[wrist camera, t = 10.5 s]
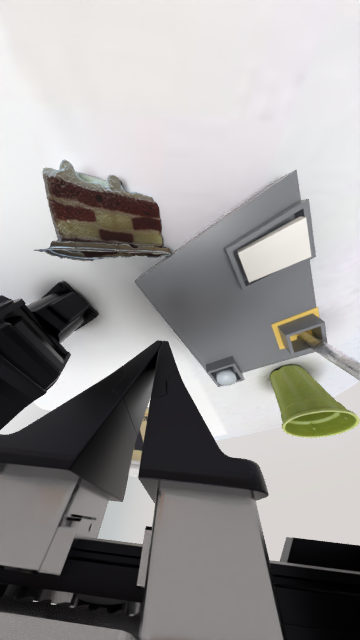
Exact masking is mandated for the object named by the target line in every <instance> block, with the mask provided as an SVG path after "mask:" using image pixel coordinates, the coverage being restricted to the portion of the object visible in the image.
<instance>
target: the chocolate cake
mask: <svg viewBox="0 0 360 640" xmlns="http://www.w3.org/2000/svg"><path fill="white" fill-rule="evenodd" d="M43 179H44V182H45V189H46V194H47V199H48V202H49V207H50V212H51V216H52V220H53V224H54V227H55V231H56V234H57V238H58V240H57V241H52V242H51V245H50V247H49V248H48V249H39V250H35V251H40V252H43V251H45V252H46V253H47V254H51V256H52V255H53V256H58V257H60V258H61V259H62V258H67V259H73V260H80V261H93V260H94V259H103V258H116V257H118V256H121V257H131V256H135V255H137V256H145V255H146V256H148V257H159V256H160V255H164V256H165V257H168V256H170V255H172V254H171V253H170V249H169V248H163V247H162V244H163V243H162V241H163V239H162V237H161V234H160V232H161V223H160V222H161V220H160V217H159V207H158V205H157V203H156V202H155V201H154V200H153V198H152V197H148V196H145V195H142V194H140V193H137V192H132V193H129V192H126V191H125V190H124V188H123V187H122V183H121V181H120V180H119V178H118V177H116V176H114V175H109V176H108V178H107V181H105V180H103V179H101V178H97V177H93V176H90V175H86V174H83V173H78V172H75V170H74V168H73V166H72V164H71V163H70V162H68V161H67V160H63V161H62V162H61V164H60V170H55V169H52V168H44V169H43Z"/></svg>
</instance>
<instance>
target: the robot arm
mask: <svg viewBox="0 0 360 640" xmlns="http://www.w3.org/2000/svg"><path fill="white" fill-rule="evenodd" d="M94 314H95V315H94ZM97 316H98V313H97V312H96V311H95V310H94V309H93V308H92V307H91V306H90V305H89V304H88V303H87V302H86V301H85V300H84V299H82V298H81V297H80V296H79V295H78V294H77V293H76V292H75V291H74V290H73V289H72V288H71V287H70V286H69V285H68V284H67V283H65V282H63V281H62V282H59V283H58V284H57V285H56V286H55V287H54V288H52V289H51V290H50V291H49V292H48V293H47V294H46V295H45V296H44V297H43V298H42V299H40V300H38V301H36V302H34V303H32V304H30V305H28V306H26V305H25V302H24V301H23V300H22V299H18V300H11V299H8V298H6V297H4V296H0V430H1V429H2V428H3V427H4V426H5V425H6V424H8V423H9V422H10V421H11V420H12V419H13V418H14V417H15V416H16V415H17V414H18V413H19V412H21V411H22V410H23V409H24V408H25V407H27V406H28V405H29V404H31V403H32V402H33V401H35V400H36V399H38V398H39V397H41V396H43V395H44V394H45V393H46V392H47V390H48V389H49V388H50V387H52V386H53V385H54V383H55V382H56V381H57V380H58V378H59V376H60V374H61V372H62V371H63V369H64V367H65V365H66V363H67V361H68V359H69V357H70V356H71V354H70V353H69V352H67V351H66V350H65V348H64V347H63V346H62V345H61V344H60V343H61V342H63V341H64V340H65V339H66V338H67V337H68V336H69V335H70V334H71V333H72V332H74V331H76V330H78V329H79V328H81V327H82V326H84V325H85V324H87V323H88V322H90V321H91V320H93V319H94V318H96V317H97ZM150 397H151V400H150ZM149 400H150V405H149V412H148V418H147V424H146V430H145V436H144V443H143V449H142V455H141V461H140V468H139V474H138V478H139V480H140V481H141V483H142V484H143V486H144V488H145V489H146V491H147V492H148V494H149V495H150V497H151V499H152V500H153V501H154V503H155V510H154V518H153V525H152V527H148V526H146V529H145V535H144V541H143V544H136V543H127V542H120V541H112V540H104V539H97V537H98V534H99V530H100V527H101V524H102V521H103V517H104V514H105V511H106V507H107V504H108V501H109V500H111V501H120V502H123V499H124V495H125V490H126V485H127V480H128V475H129V470H130V465H131V460H132V455H133V450H134V446H135V442H136V439H137V436H138V433H139V430H140V427H141V424H142V421H143V418H144V415H145V412H146V409H147V406H148V403H149ZM267 496H268V491H267V488H266V484H265V481H264V478H263V475H262V472H261V470H260V467H259V465H258V464H257V463H255V462H253V461H251V460H247V459H241V458H232V457H228V456H227V455H225V454H224V453H223V452H222V451H221V450H220V449H219V447H218V445H217V443H216V442H215V440H214V438H213V436H212V434H211V432H210V431H209V429H208V427H207V425H206V423H205V422H204V420H203V418H202V416H201V414H200V412H199V411H198V409H197V407H196V405H195V403H194V402H193V400H192V398H191V396H190V394H189V392H188V391H187V389H186V387H185V385H184V383H183V381H182V379H181V376H180V374H179V371H178V368H177V366H176V363H175V360H174V357H173V354H172V351H171V348H170V346H169V343H168V341H163V342H162V341H156V342H154V343H153V344H152V345H150V346H149V347H148V348H146V349H145V350H144V351H142V352H141V353H140V354H138V355H137V356H136V357H134V358H133V359H131V360H130V361H129V362H127V363H126V364H125V365H124V366H122V367H120V368H119V369H118V370H116V371H115V372H113V373H112V374H110V375H109V376H107V377H106V378H104V379H103V380H101V381H100V382H98V383H96V384H95V385H93V386H91V387H90V388H88V389H87V390H85V391H83V392H82V393H80V394H78V395H77V396H75V397H74V398H72V399H70V400H69V401H67V402H66V403H64V404H62V405H61V406H59V407H57V408H56V409H54V410H53V411H51V412H49V413H48V414H46V415H45V416H43V417H41V418H40V419H38V420H37V421H35V422H33V423H32V424H30V425H28V426H27V427H25V428H23V429H22V430H20V431H18V432H15V433H13V434H9V435H0V640H360V546H358V545H349V544H340V543H332V542H325V541H316V540H307V539H299V538H288V537H287V538H286V541H285V545H284V548H283V552H282V556H281V559H280V562H278V561H270V560H269V557H268V553H267V548H266V544H265V540H264V536H263V531H262V527H261V523H260V519H259V514H258V510H257V505H256V500H259V499H262V498H265V497H267ZM33 600H34V601H38V602H33ZM51 603H55V604H56V605H51Z"/></svg>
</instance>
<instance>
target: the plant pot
mask: <svg viewBox="0 0 360 640" xmlns="http://www.w3.org/2000/svg"><path fill="white" fill-rule="evenodd" d="M270 380H271V383H272V386H273V389H274V392H275V395H276V398H277V401H278V405H279V408H280V411H281V418H282V421H283V424H282V429H283V430H284V432H286V433H287V434H289V435H292V436H298V437H324V436H331V435H336V434H340V433H343V432H346V431H348V430H351V429H353V428H354V427H356V426H357V425H358V424H359V421H360V419H359V417H358V416H357V415H356V414H355V413H353V412H351V411H349V410H347V409H346V408H345V407H344V406H343V405H342V404H340V403H339V402H337V401H336V400H335V399H334V398H333V397H332V396H330V395H329V394H328V393H327V392H326V391H325V390H324V389H323V388H322V387H321V386H320V385H319V384H318V383H317V382H316V381H315V380H314V379H313V378H312V377H311V376H310V375H309V374H308V373H307V372H306V371H305V370H304V369H303V368H301V367H300V366H296V365H287V366H283V367H281V368H280V369H279V370H275V371H273V372H272V373H271V375H270Z"/></svg>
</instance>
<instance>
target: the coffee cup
mask: <svg viewBox="0 0 360 640" xmlns="http://www.w3.org/2000/svg"><path fill="white" fill-rule="evenodd" d="M148 412H149V408H147V409H146V412H145V415H144V418H143V421H142V424H141V427H140V430H139V433H138V436H137V439H136V442H135V446H134V450H133V455H132V460H131V465H130V470H129V475H128V476H132V477H138V474H139V468H140V461H141V455H142V449H143V443H144V436H145V430H146V424H147V418H148Z"/></svg>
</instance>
